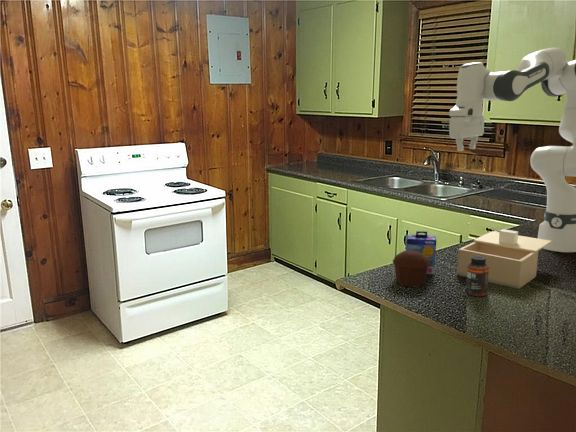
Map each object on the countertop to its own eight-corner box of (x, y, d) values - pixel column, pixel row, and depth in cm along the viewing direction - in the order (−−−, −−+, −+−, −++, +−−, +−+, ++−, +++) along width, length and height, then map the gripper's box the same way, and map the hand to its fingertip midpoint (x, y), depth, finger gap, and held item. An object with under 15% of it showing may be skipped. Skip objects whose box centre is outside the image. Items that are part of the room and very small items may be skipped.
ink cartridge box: (405, 273, 172) (406, 231, 169) (404, 268, 178) (405, 227, 175) (435, 274, 171) (437, 232, 167) (434, 269, 176) (436, 228, 173)
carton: (476, 264, 181) (478, 239, 179) (536, 276, 167) (538, 250, 165) (457, 274, 170) (458, 249, 168) (518, 288, 157) (521, 261, 155)
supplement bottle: (485, 290, 156) (488, 255, 153) (488, 297, 150) (491, 261, 148) (465, 289, 157) (467, 253, 155) (467, 296, 152) (469, 259, 149)
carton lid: (492, 232, 188) (493, 220, 187) (551, 242, 174) (553, 229, 173) (473, 241, 177) (474, 228, 176) (535, 252, 163) (537, 238, 162)
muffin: (432, 278, 167) (433, 249, 165) (426, 290, 157) (427, 258, 155) (396, 274, 172) (397, 245, 170) (388, 285, 162) (388, 254, 160)
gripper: (473, 109, 189) (470, 147, 192) (446, 111, 174) (444, 151, 178) (489, 109, 185) (487, 148, 188) (464, 111, 170) (462, 152, 173)
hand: (466, 150), depth 182 cm, fingers open, 8 cm apart
